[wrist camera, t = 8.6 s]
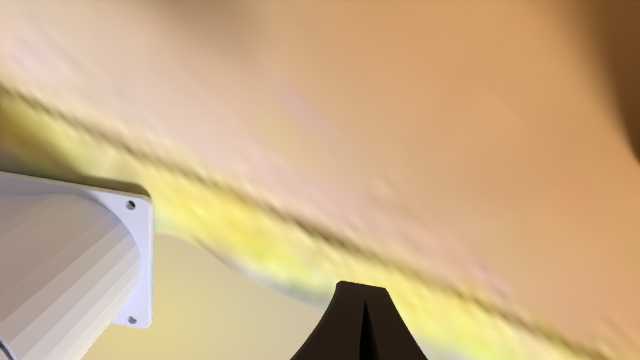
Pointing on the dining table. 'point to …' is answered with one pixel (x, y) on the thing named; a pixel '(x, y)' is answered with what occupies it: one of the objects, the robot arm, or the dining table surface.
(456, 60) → the dining table surface
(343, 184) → the dining table surface
